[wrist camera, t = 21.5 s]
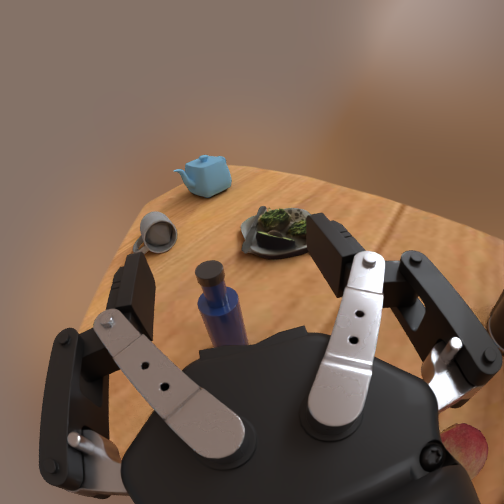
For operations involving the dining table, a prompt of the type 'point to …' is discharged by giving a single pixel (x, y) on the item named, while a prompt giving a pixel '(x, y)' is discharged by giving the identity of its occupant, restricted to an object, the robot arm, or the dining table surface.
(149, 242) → the ceramic mug
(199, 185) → the teapot
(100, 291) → the dining table surface
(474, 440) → the fruit
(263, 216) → the salad plate
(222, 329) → the soy bottle
